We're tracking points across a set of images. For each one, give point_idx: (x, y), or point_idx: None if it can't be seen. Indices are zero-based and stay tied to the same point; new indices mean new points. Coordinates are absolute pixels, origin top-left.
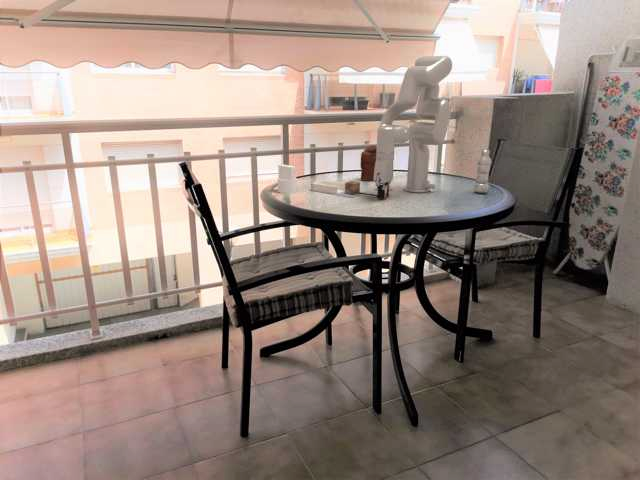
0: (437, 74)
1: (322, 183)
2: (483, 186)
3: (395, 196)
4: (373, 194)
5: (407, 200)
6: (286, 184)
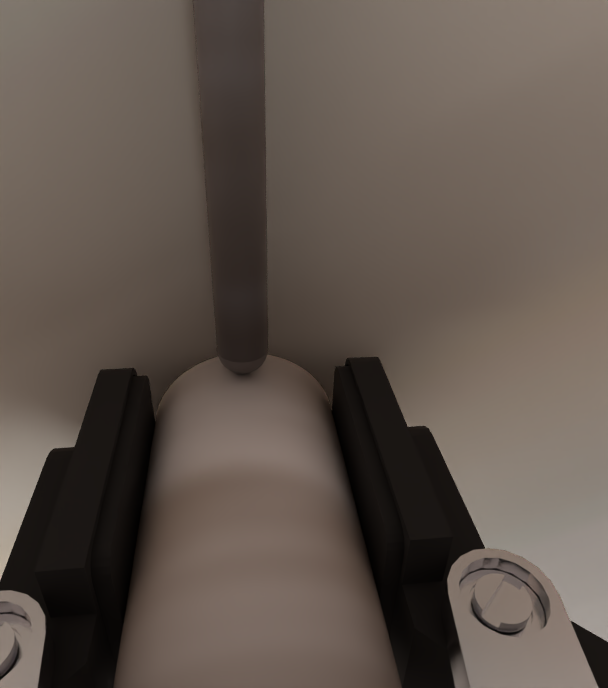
0: None
1: None
2: None
3: (591, 468)
4: (230, 180)
5: None
6: None
